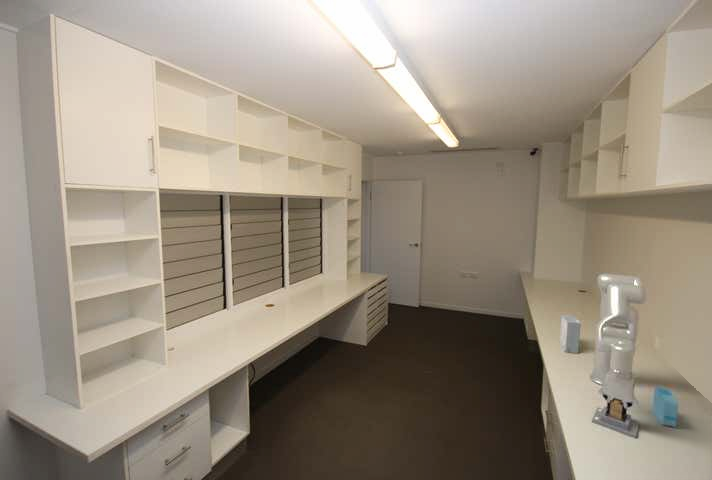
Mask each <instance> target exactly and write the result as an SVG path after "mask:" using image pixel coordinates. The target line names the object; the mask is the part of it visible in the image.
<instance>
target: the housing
mask: <svg viewBox="0 0 712 480" xmlns="http://www.w3.org/2000/svg"><path fill="white" fill-rule="evenodd" d="M591 423H594V424H596V425H598V426H601V427H604V428H606V427H607V428H606V429H609V428H610V429H609V430H612V431H614V430H615V432H618V433H620V434H622V435H625V436H628V437H631V438H633V439H637V435H638V429H639V425H640V421H639V420H636V419H632V415H631V414H629V413H626V415H625V414H624V417H623V416H622V420H621V421H619V420H616V419H613V418H611V417H610V412H608V408H607V405H606V406H604V408H601V407H596V410H595V413H594V414H593V416H592V419H591Z"/></svg>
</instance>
